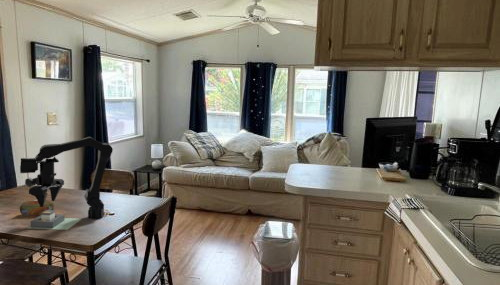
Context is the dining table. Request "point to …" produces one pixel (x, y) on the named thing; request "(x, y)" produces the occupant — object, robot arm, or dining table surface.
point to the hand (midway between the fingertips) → (47, 203)
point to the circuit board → (63, 224)
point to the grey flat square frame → (47, 222)
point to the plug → (48, 215)
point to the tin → (35, 207)
